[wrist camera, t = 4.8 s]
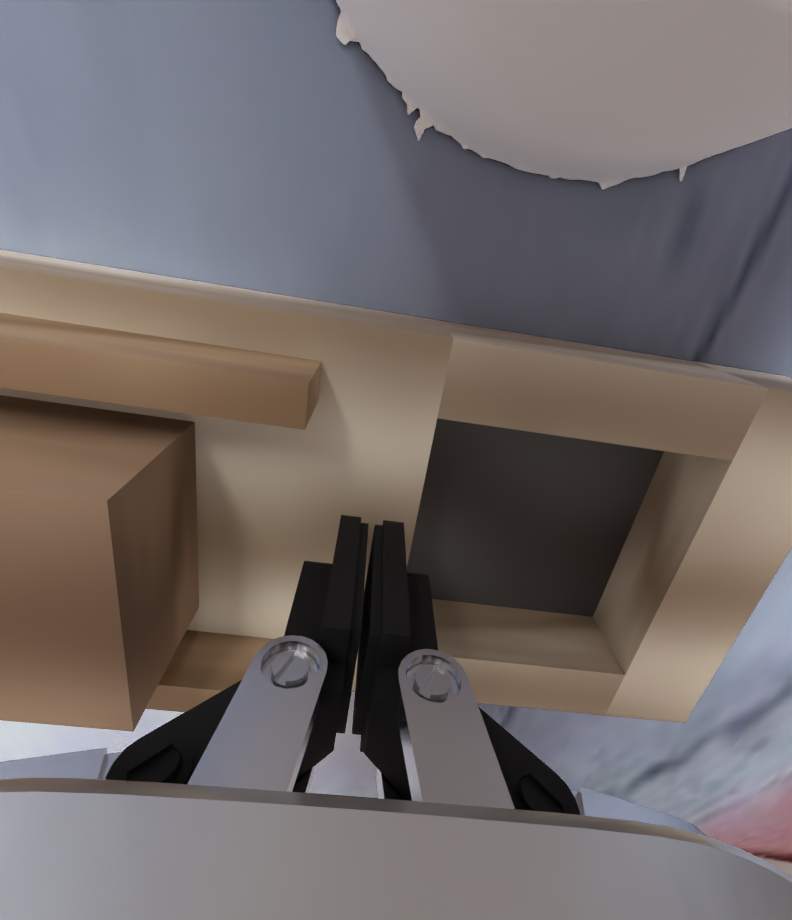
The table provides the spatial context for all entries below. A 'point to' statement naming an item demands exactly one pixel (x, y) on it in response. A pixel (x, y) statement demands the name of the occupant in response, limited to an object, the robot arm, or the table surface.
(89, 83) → the table surface
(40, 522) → the block
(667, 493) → the board
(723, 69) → the white spouted jug
